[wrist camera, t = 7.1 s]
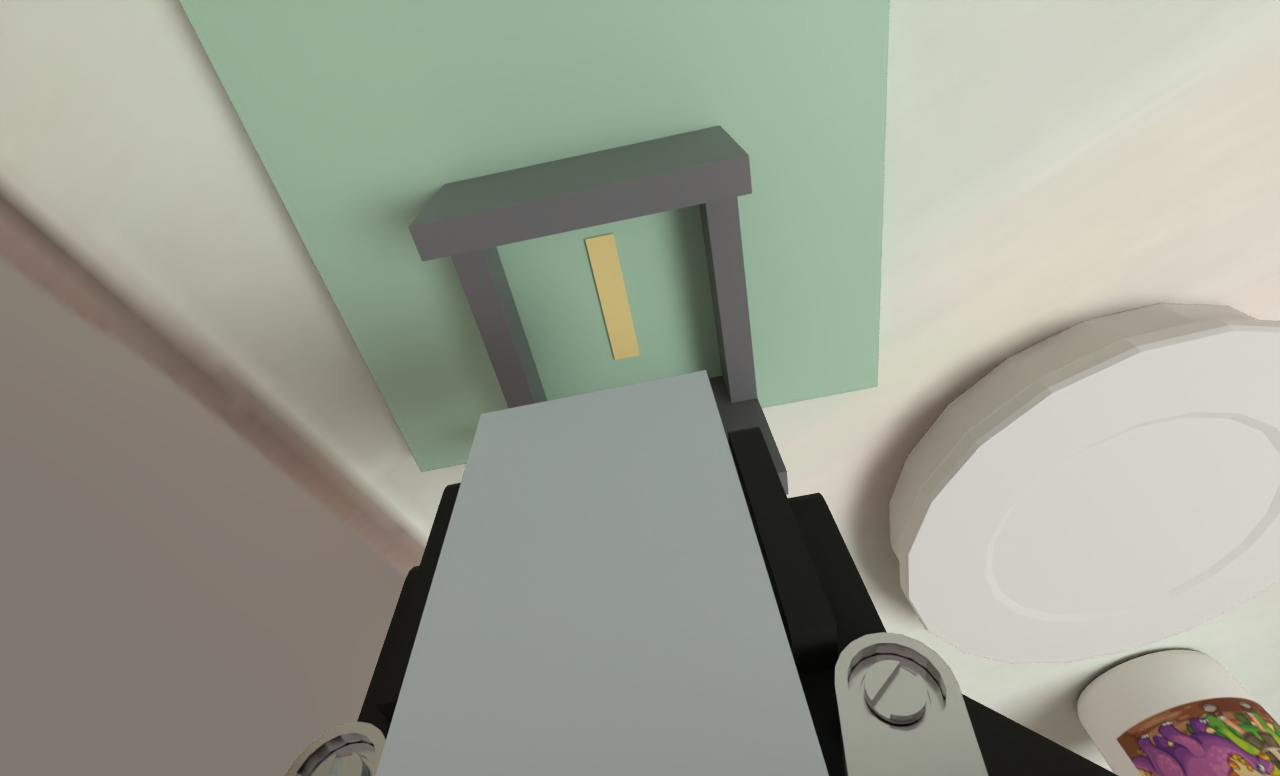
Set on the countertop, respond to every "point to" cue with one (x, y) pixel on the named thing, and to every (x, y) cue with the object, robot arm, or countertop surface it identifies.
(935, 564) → the lid
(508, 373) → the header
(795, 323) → the board
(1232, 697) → the milk bottle
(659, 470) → the plug
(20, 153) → the countertop surface
